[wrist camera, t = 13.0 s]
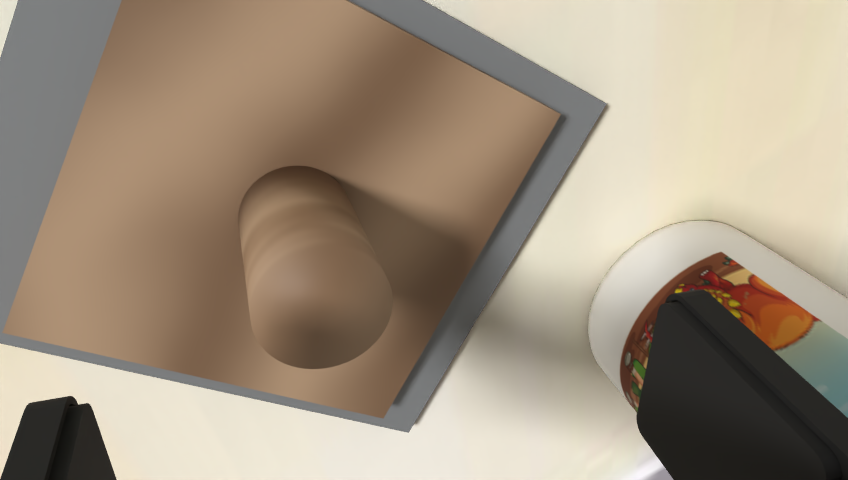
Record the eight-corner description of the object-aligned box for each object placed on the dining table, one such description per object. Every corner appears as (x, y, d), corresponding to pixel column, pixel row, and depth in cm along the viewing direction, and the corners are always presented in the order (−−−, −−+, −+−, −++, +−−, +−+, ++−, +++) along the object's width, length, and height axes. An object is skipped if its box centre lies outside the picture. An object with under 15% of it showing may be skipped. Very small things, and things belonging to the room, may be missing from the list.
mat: (597, 98, 22) (606, 103, 22) (404, 421, 26) (408, 432, 26) (82, -191, 15) (78, -193, 15) (-76, 313, 19) (-84, 325, 19)
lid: (546, 105, 21) (657, 173, 16) (376, 400, 25) (424, 534, 20) (159, -101, 16) (142, -95, 11) (10, 313, 19) (-56, 466, 14)
